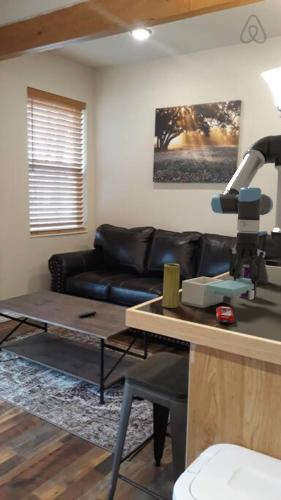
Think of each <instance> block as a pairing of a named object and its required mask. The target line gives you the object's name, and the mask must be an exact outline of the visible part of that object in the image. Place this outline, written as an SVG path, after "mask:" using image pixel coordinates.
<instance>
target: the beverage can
mask: <svg viewBox="0 0 281 500" xmlns="http://www.w3.org/2000/svg"><path fill="white" fill-rule="evenodd" d="M256 267H257V266H256ZM256 270H257V268H256ZM240 276H241V277H239V278H247V279H251V274H250V267H249V265H246V264H244V265H243V266H242V270H241V274H240ZM257 289H258V288H257ZM257 289H256V290H254V297H256V296H257V292H258V291H257ZM248 294H249V290H248V291H246V293H243V294H241V296H240V297H241V298H245V299H248Z"/></svg>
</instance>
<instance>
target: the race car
mask: <svg viewBox="0 0 281 500" xmlns="http://www.w3.org/2000/svg"><path fill="white" fill-rule="evenodd" d="M215 317H216V323H221V324H223V323H225V324H226V323H227V324H228V323H229V324H234V321H235V316H234V308H232V307H230V306H224V305H223V306H218V307H215Z"/></svg>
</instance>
